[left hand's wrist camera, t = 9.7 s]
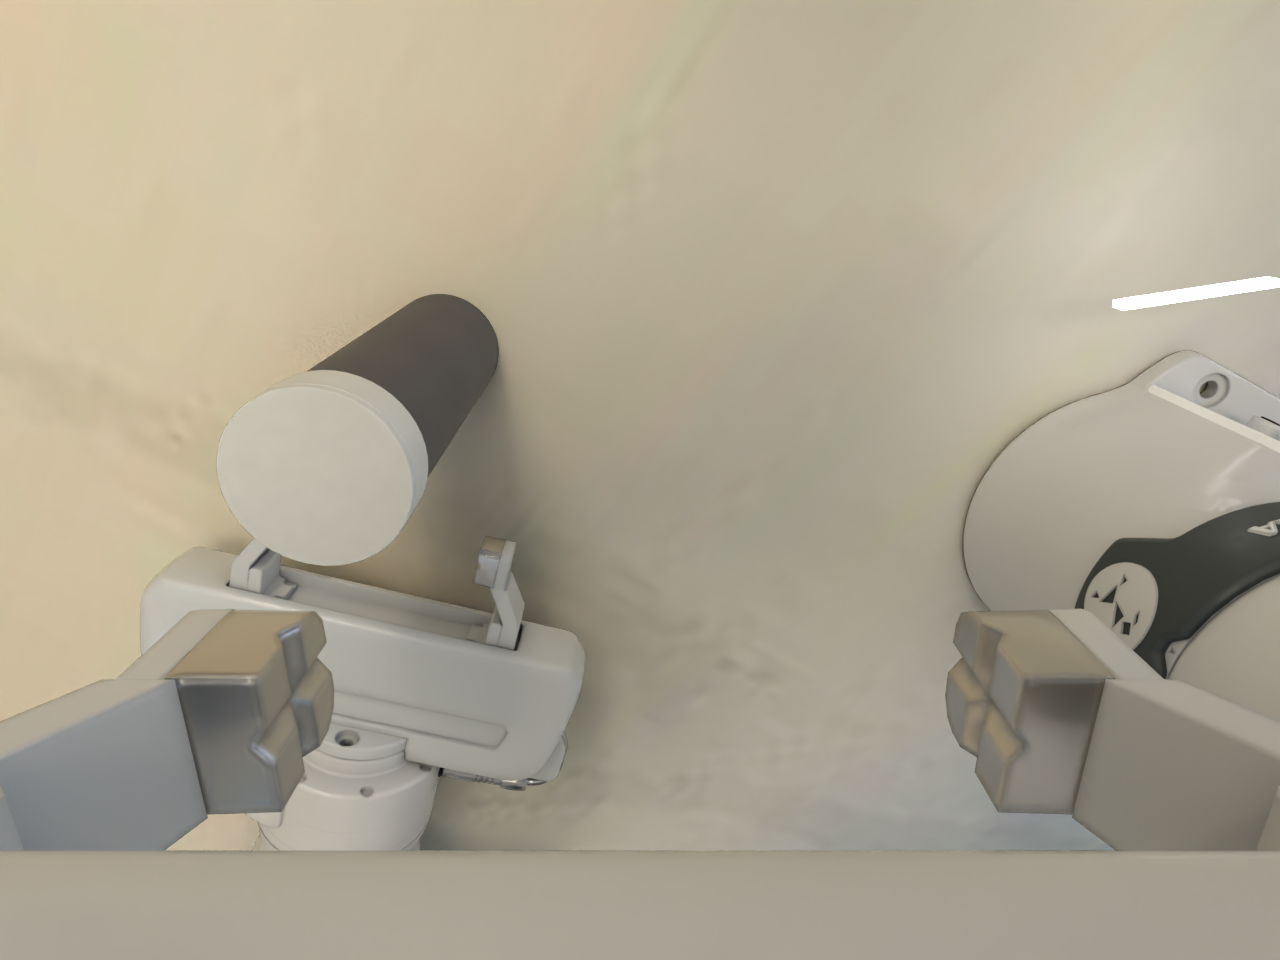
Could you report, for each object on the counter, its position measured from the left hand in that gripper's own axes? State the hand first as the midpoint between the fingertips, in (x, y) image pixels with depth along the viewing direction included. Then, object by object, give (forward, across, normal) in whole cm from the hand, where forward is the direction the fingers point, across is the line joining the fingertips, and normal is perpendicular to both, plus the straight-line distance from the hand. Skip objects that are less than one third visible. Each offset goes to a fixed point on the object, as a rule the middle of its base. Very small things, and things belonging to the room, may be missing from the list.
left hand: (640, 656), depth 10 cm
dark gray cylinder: (+29, +9, +2) cm, 30 cm away
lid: (+12, +9, +2) cm, 16 cm away
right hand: (+24, +11, +8) cm, 28 cm away
